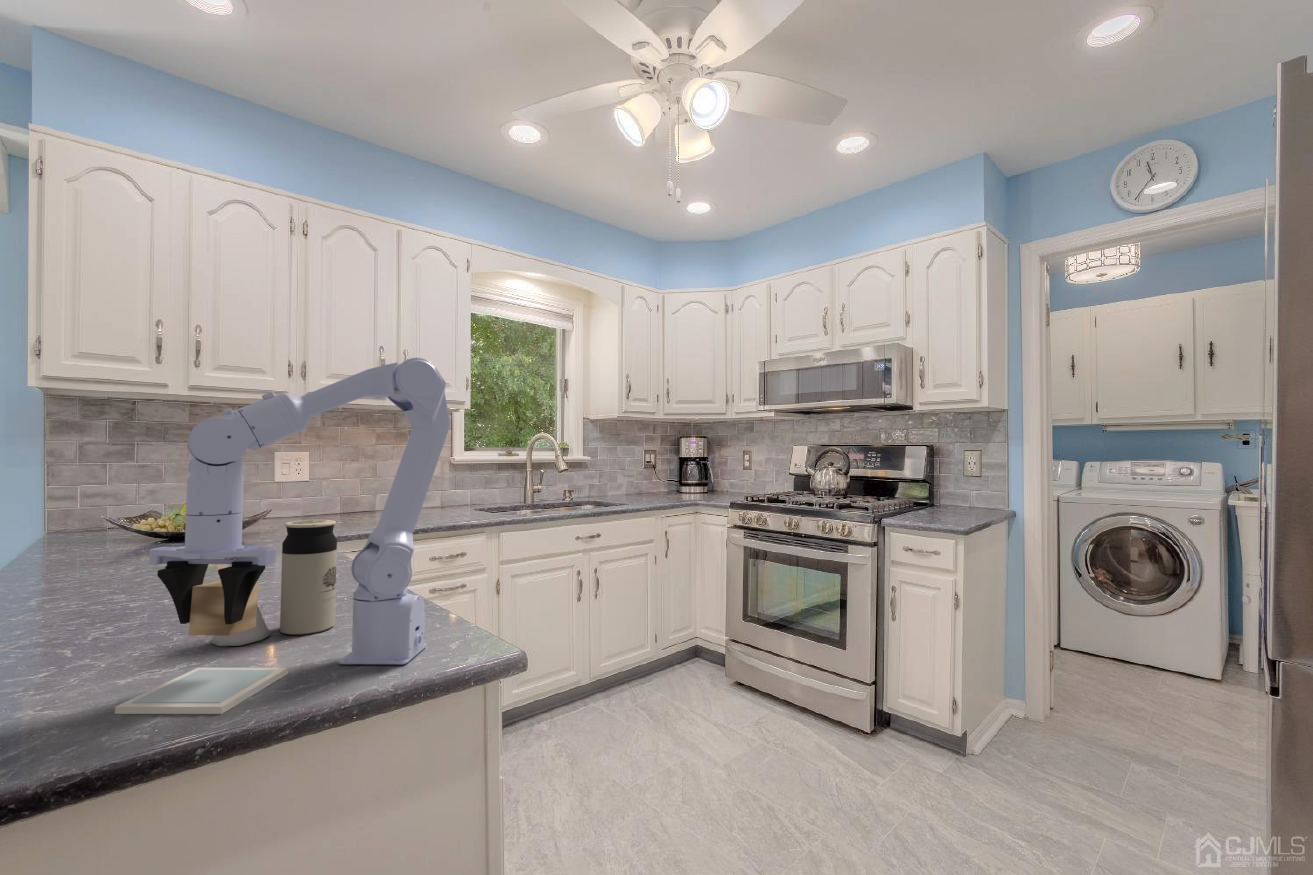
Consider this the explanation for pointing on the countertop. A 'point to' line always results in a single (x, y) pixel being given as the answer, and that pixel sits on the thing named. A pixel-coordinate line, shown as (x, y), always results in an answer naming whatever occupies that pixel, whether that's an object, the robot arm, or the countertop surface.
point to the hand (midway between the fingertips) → (211, 621)
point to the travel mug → (308, 577)
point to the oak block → (218, 611)
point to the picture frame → (203, 691)
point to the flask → (244, 634)
